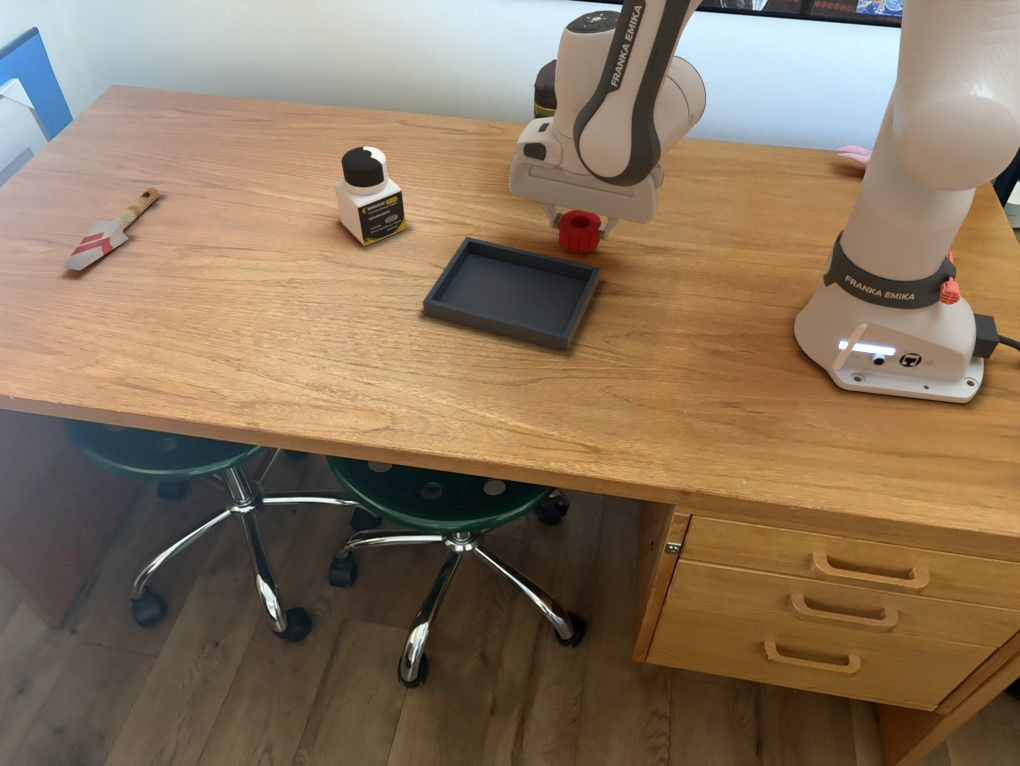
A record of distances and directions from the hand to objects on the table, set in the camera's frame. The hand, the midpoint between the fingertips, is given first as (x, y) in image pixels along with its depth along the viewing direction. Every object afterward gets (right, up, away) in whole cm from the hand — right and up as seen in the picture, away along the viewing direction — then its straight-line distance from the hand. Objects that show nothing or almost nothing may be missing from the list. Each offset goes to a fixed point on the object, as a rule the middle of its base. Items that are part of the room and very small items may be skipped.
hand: (579, 232), depth 112 cm
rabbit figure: (+49, +12, +15) cm, 53 cm away
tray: (-9, -10, -5) cm, 15 cm away
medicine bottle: (-30, +2, +6) cm, 31 cm away
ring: (0, -1, +1) cm, 1 cm away
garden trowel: (-67, 0, +5) cm, 67 cm away
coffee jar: (-2, +10, +13) cm, 17 cm away
